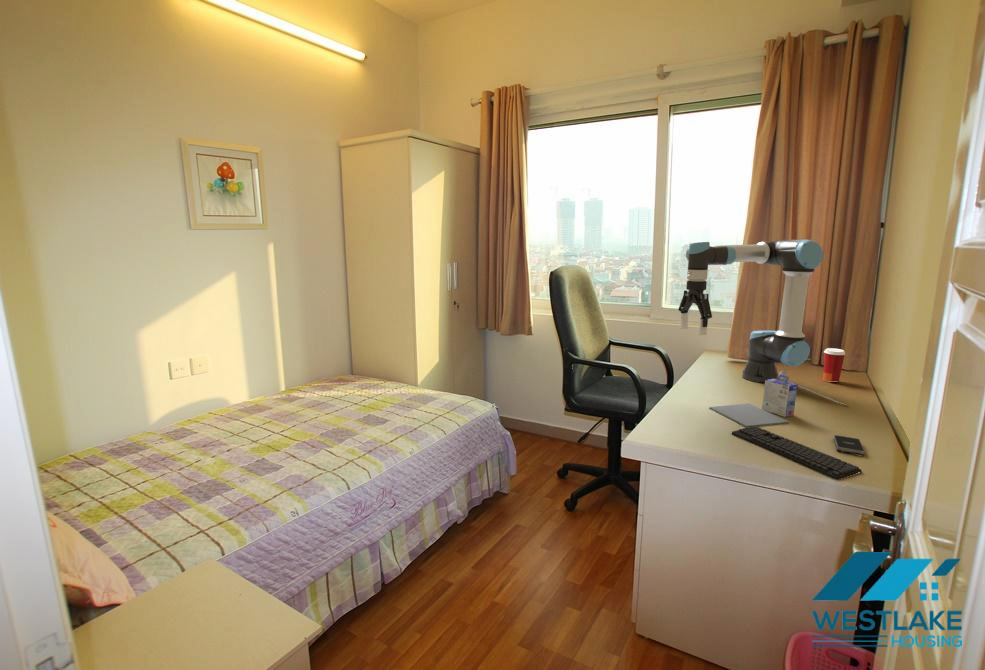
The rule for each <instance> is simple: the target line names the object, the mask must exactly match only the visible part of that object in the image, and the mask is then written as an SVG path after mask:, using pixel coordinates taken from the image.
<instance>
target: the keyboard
mask: <svg viewBox="0 0 985 670" xmlns="http://www.w3.org/2000/svg"><path fill="white" fill-rule="evenodd" d="M731 435H732V436H735V437H737V438H739V439H741V440H743V441H746V442H748V443H751V444H753V445H755V446H758V447H759V448H762V449H764V450H766V451H769V452H771V453H773V454H776V455H778V456H780V457H783V458H785V459H787V460H789V461H792V462H794V463H796V464H799V465H801V466H803V467H805V468H808V469H809V470H813V471H815V472H817V473H819V474H822V475H824V476H826V477H828V478H830V477H831V479H833V480H835V479H836V480H835V481H838V480H839V481H840V480H842V479H841V478H843V479H845V478H844V477H846V478H848V477H847V476H849V477H851V476H850V475H852V476H854V475H853V474H856V473H858V472H861V473H862V469H861V468H860V467H859V466H857V465H854V464H852V463H850V462H847V461H844V460H843V459H840V458H837V457H834V456H831V455H829V454H828V453H824V452H822V451H819V450H817V449H814V448H812V447H809V446H806V445H804V444H802V443H799V442H797V441H794V440H792V439H789V438H787V437H784V436H782V435H779V434H776V433H774V432H771V431H768V430H766V429H764V428H761V427H759V426H752V427H747V428H746V427H744V428H739V429H738V430H733V431H731ZM856 475H857V474H856Z"/></svg>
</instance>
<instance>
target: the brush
mask: <svg viewBox="0 0 985 670" xmlns="http://www.w3.org/2000/svg"><path fill="white" fill-rule="evenodd" d="M787 374H788V370H787V369H783V370H780V371H779V373H778V376H779V375H784V376H787ZM780 379H784V380H786V378H784V377H780ZM787 382H789V383H793V384H796V382H792V381H791V380H789V379H788V380H787ZM797 385H798V386H797V388H801V389H803V390H806V391H808V392H810V393H813V394H815V395H817V396H820V397H822V398H825V399H827V400H830V401H832V402H834V403H836V402H837V403H836V404H839V403H840V404H839V405H841V404H844V405H846V404H845V403H843V402H841V401H838V400H837V399H836V400H835V399H833V398H831V397H828V396H826V395H824V394H821V393H819V392H817V391H814V390H812V389H809V388H807V387H804V386H802V385H801V384H797ZM844 405H843V406H844Z"/></svg>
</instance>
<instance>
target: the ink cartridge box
mask: <svg viewBox="0 0 985 670" xmlns="http://www.w3.org/2000/svg"><path fill="white" fill-rule="evenodd" d="M778 376H779V377H778V379H768V380H765V383H764V387H763V389H764V390H763V396H762V402H761V403H762V404H761V409H763V410H765V411H767V412H769V413H772V414H774V415H777V416H781V417H784V418H786V417H791V416H792V415H793V416H794V415H795V407H796V398H797V391H798V385H799V384H797V383H795V384H793V383H794V382H793V383H789V382H787V380H788V381H789V378H790V376H787V375H786V376H784V375H779V374H778ZM780 377H784V378H786V380H784V379H780ZM793 416H792V417H793Z"/></svg>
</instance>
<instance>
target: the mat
mask: <svg viewBox="0 0 985 670" xmlns="http://www.w3.org/2000/svg"><path fill="white" fill-rule="evenodd" d="M711 409H712V410H711ZM709 410H711V411H713V410H714V411H713V412H715V411H716V412H715V413H718V414H719V415H721V416H722V417H723V416H724V417H725V418H727V419H729V420H730V421H733V422H735V423H737V424H738V425H741V426H742V427H744V428H747V427H752V426H757V427H764V426H773V425H774V426H775V425H779V424H782V423H783V424H789V423H790V421H789V420H787V419H785V418H782V417H780V416H779V415H777V414H775V413H771V412H768V411H765V410H763V409H762V408H760V407H759V406H756V405H753V404H752V403H739V404H728V405H720V406H718V405H717V406H709Z"/></svg>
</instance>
